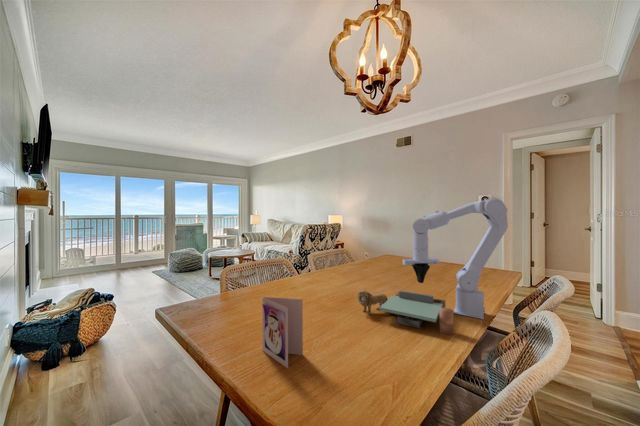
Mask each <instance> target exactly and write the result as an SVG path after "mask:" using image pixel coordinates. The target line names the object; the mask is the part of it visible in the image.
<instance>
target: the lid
mask: <svg viewBox="0 0 640 426" xmlns="http://www.w3.org/2000/svg"><path fill="white" fill-rule="evenodd" d="M398 293H399V296H395V295H391V296H390V297H389V298H387V299H388V300H387V301H386V302H385V303H384V304H382V306H381V307H380V309H379V311H382V312H384V313H385V312H386V313H388V312H390V313H389V314H391V313H395V314H394V315H396V314H400V315H404V316H409V317H414V318H418V319H423V321H424V320H428V321H432V322H431V323H433V322H436V321H437V319H438V316H439V314H440V308H442V307H443V304H439V303H433V298H434V295H430V294H424V293H418V292H412V291H405V290H399V292H398ZM428 321H427V322H428Z"/></svg>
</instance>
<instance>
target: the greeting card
mask: <svg viewBox="0 0 640 426" xmlns="http://www.w3.org/2000/svg"><path fill="white" fill-rule="evenodd" d="M303 301H304V300H303V298H302V299H301V298H286V297H285V298H284V297H269V296H262V303H261V304H262V352H264V353H265V354H267V355H268V356H270V357H271V358H272V359H273V360H275V361H277V362H278V363H279V364H281V365H282V366H284V367H285V368H286V369H289V354H292V355H299V356H303V355H304V354H303V351H304V349H303V348H304V347H303V346H304V344H303V342H304V340H303V338H304V335H303V331H304V329H303V325H304V324H303V323H304V322H303V320H304V319H303V317H304V316H303V315H304V314H303V309H304V308H303V307H304V306H303Z"/></svg>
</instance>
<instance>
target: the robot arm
mask: <svg viewBox="0 0 640 426" xmlns="http://www.w3.org/2000/svg"><path fill="white" fill-rule="evenodd" d="M473 213H474V214H481V215H483V216H484V218H485V219H486V221H487V223H488V225H489V227H488V229H486V232H485V233H484V236H482V238H481V240H480V242H479V243H478V245H477V247H476V248H475V251H474V252H473V254H472V255H471V257H470V258H469V260H468V262H467V263H466V264H464V265H463V268H461V269H459V270H458V271H457V272H456V274H455V278H456V279H455V280H456V281H457V282H458V283H457V285H456V286H455V306H454V310H453V315H454V314H455V315H459V316H460V315H461V316H465V317H470V318H476V319H481V320H484V316H485V315H484V313H486V308H485V305H484V303H485V302H484V301H485V294H484V293H485V292H484V291H481V290H479V289H478V287H479V280H480V278H481V275H482V271H483V268H484V267H485V265H486V264H487V263H488V260H489V259H490V257H491V256H492V254H493V253H494V251H495V249H497V246H498V244H499V243H500V241H501V239H502V237H503V236H504V235H505V232H507V230H508V226H509V225H508V224H509V223H508V208H507V206H506V204H505V203H504V201H503V200H502V199H500V198H496V197H495V198H494V197H493V198H486V199H483V200H479V201H475V202H470V203H467V204H465V205H462V206H459V207H457V208H454V209H452V210H450V211H447V212H446V211H444V210H440V211H439V210H435V211H434V213H432V214H429V215H423V216H422V218H418V219H416V220H414V222H413V224H412V229H413V233H412V234H413V237H412V258H405V259H402V265H404V266H408V265H409V266H410V265H411V267H412V268H413V271H414V273H415V275H416V276H415V277H416V280H417V283H419V284H423V283H424V281H425V278H426V276H427V274H428V273H427V272H429V270H430V265H439V262H440V259H438V258H429V237H428V235H429V234H428V231H429V230H436V229H438V228H441V227H443V226H447V225H448V224H449V223H450V221H451V220H454V219H457V218H459V217H463V216H466V215H469V214H473Z"/></svg>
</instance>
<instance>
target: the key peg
mask: <svg viewBox="0 0 640 426" xmlns="http://www.w3.org/2000/svg"><path fill="white" fill-rule="evenodd" d="M438 325H439V332H440V333H441V334H443V335H447V336H451V335H453V334H454V310H453V309H452V308H448V307H445V308H440V318H439V324H438Z"/></svg>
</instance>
